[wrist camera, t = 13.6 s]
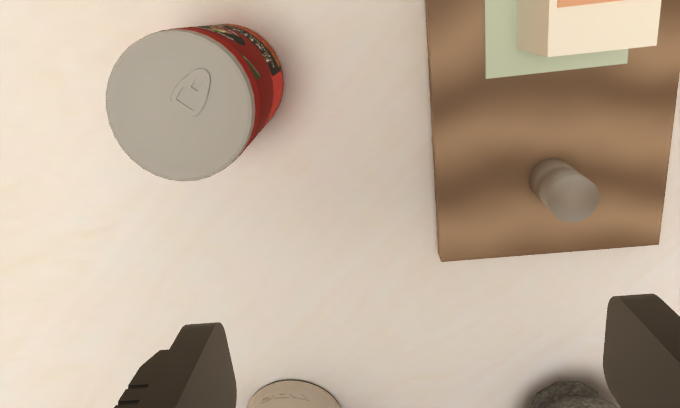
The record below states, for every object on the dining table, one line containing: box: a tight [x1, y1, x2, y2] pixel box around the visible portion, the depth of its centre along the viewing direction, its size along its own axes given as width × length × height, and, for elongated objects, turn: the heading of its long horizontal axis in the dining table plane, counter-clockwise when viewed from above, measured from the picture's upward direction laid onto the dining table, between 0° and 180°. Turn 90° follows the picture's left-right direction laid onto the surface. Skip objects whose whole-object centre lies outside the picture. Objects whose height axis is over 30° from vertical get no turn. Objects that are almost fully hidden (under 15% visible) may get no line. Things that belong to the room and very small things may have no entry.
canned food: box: [106, 24, 283, 181], centre depth 31 cm, size 8×8×11 cm
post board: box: [425, 0, 680, 262], centre depth 32 cm, size 24×16×6 cm, turn 7°
